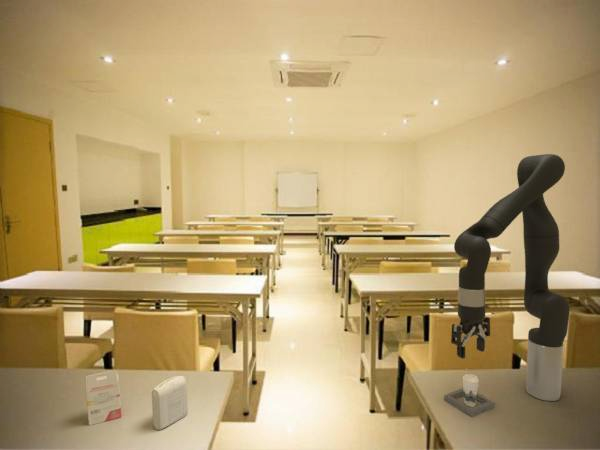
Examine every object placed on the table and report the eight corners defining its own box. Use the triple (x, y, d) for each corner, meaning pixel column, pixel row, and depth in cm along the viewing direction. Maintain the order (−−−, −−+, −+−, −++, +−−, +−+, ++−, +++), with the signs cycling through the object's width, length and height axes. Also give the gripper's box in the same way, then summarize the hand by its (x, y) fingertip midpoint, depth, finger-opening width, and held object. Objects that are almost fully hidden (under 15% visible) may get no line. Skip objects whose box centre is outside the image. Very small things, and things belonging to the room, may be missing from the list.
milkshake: (472, 398, 118) (473, 367, 117) (480, 408, 113) (481, 376, 112) (458, 398, 118) (459, 367, 117) (465, 408, 113) (466, 376, 112)
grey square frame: (466, 391, 122) (466, 386, 122) (494, 407, 113) (494, 402, 113) (444, 399, 117) (444, 395, 117) (471, 416, 108) (471, 411, 108)
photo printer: (181, 409, 115) (179, 370, 113) (190, 413, 112) (188, 374, 111) (150, 427, 106) (148, 385, 105) (159, 432, 104) (157, 390, 103)
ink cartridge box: (121, 408, 115) (118, 363, 114) (121, 417, 111) (118, 370, 109) (89, 416, 112) (85, 369, 110) (88, 426, 107) (84, 376, 106)
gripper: (476, 294, 118) (476, 344, 120) (444, 302, 112) (444, 355, 114) (498, 300, 112) (497, 353, 113) (465, 309, 105) (465, 365, 107)
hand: (470, 353), depth 114 cm, fingers open, 8 cm apart
